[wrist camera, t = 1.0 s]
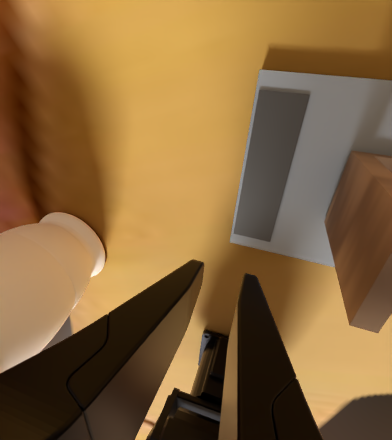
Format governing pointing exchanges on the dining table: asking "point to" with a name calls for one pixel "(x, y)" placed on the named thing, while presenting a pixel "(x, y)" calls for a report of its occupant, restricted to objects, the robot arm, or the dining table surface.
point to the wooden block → (363, 238)
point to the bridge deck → (304, 156)
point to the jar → (42, 281)
